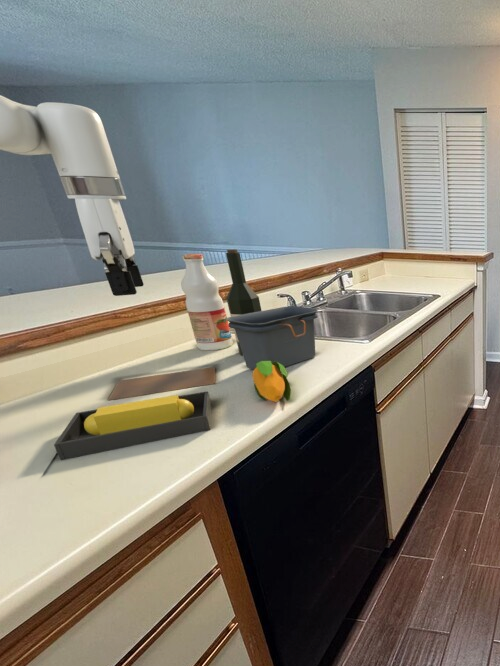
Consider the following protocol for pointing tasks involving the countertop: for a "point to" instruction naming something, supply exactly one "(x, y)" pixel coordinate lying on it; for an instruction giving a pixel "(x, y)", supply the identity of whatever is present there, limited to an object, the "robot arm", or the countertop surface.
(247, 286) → the wine bottle
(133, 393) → the board
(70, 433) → the tray
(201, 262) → the fruit juice
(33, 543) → the countertop surface
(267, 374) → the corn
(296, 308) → the storage bin
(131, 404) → the yellow rounded-end bar
